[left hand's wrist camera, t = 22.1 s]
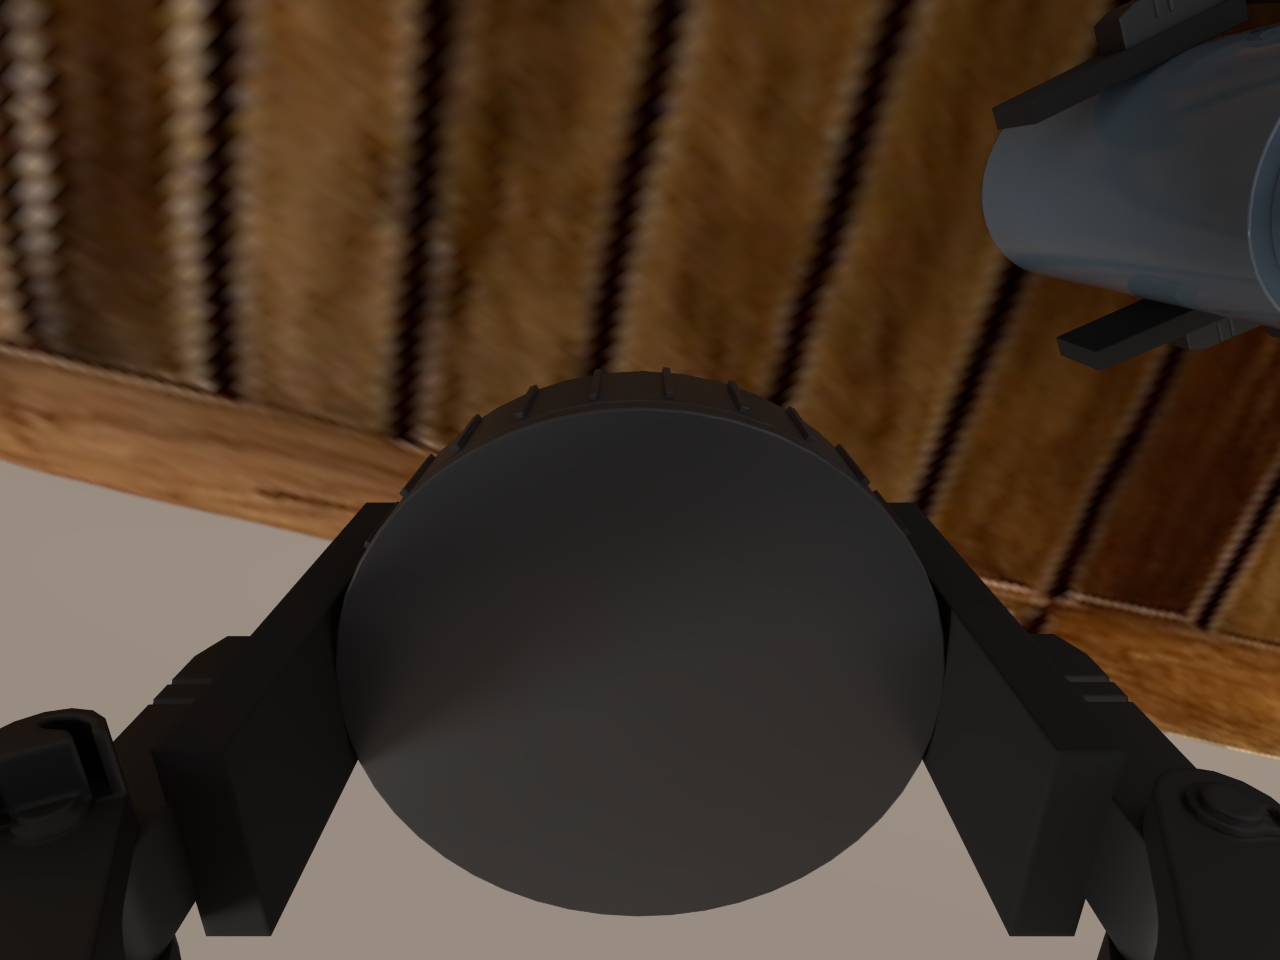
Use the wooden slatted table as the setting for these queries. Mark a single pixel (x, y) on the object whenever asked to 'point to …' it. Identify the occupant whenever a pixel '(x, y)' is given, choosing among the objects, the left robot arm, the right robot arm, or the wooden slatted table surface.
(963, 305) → the wooden slatted table surface
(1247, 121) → the jar
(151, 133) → the wooden slatted table surface
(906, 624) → the lid
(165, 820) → the left robot arm
